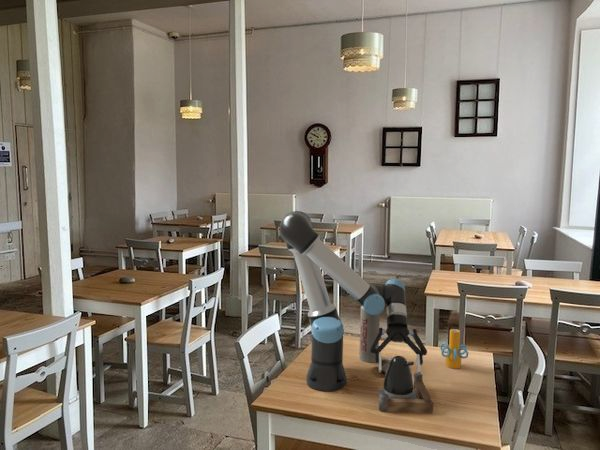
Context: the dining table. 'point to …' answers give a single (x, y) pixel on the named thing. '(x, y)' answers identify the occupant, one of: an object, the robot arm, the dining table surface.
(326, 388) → the robot arm
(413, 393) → the pad
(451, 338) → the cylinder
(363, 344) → the thermos bottle
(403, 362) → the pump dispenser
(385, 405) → the wooden corner bracket
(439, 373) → the dining table surface
